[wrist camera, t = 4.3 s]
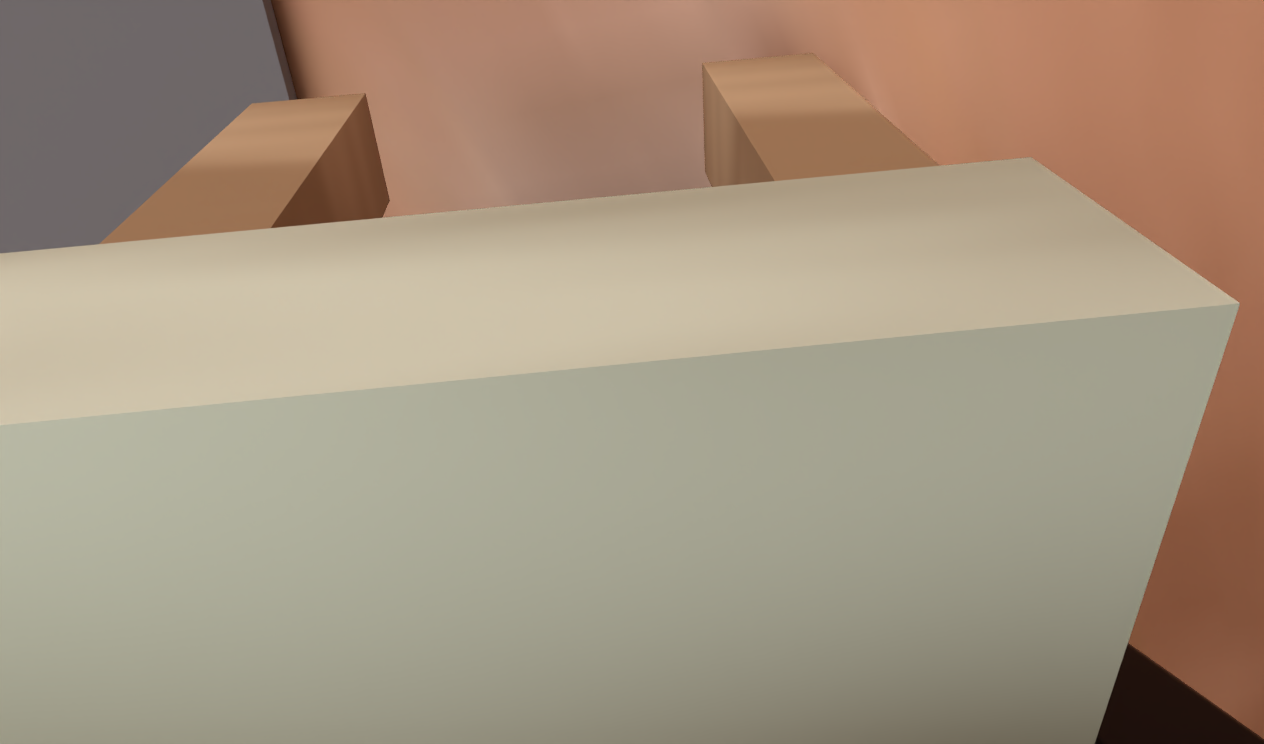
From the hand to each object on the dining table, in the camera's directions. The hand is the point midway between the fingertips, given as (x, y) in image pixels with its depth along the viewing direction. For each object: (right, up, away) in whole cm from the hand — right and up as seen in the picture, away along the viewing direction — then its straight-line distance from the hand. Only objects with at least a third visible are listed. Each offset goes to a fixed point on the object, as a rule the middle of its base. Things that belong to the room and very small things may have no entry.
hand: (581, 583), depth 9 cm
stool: (0, +2, +3) cm, 3 cm away
